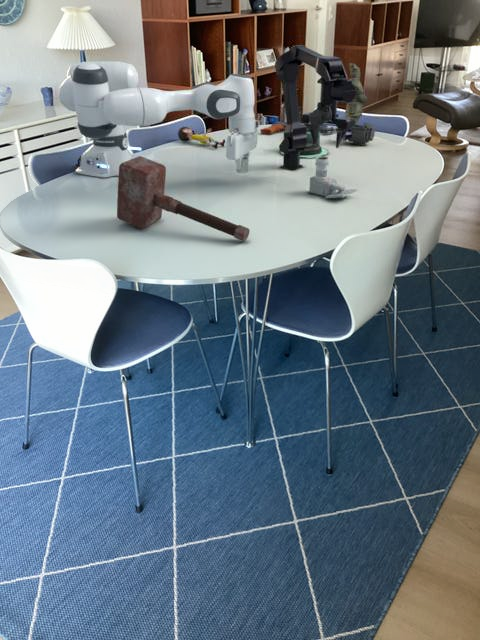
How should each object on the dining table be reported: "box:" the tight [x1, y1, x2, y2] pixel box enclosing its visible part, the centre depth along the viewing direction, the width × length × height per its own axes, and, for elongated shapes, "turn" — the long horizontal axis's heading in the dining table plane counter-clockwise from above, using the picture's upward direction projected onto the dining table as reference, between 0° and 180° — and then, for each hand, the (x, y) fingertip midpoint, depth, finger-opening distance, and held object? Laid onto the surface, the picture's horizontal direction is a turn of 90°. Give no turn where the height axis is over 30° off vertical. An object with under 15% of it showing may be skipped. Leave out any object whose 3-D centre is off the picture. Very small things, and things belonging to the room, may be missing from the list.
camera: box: [308, 155, 359, 199], centre depth 182 cm, size 9×12×15 cm
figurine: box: [177, 126, 226, 150], centre depth 251 cm, size 13×8×25 cm
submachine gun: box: [260, 121, 335, 136], centre depth 265 cm, size 32×3×25 cm
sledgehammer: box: [116, 155, 250, 242], centre depth 156 cm, size 17×10×40 cm
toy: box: [342, 122, 376, 146], centre depth 244 cm, size 9×9×15 cm
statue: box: [344, 62, 368, 125], centre depth 262 cm, size 11×9×30 cm
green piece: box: [280, 128, 328, 159], centre depth 234 cm, size 15×19×20 cm
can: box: [236, 156, 249, 174], centre depth 195 cm, size 4×4×5 cm
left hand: (242, 166), depth 195 cm, fingers closed on can, 4 cm apart
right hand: (326, 146), depth 194 cm, fingers open, 9 cm apart
